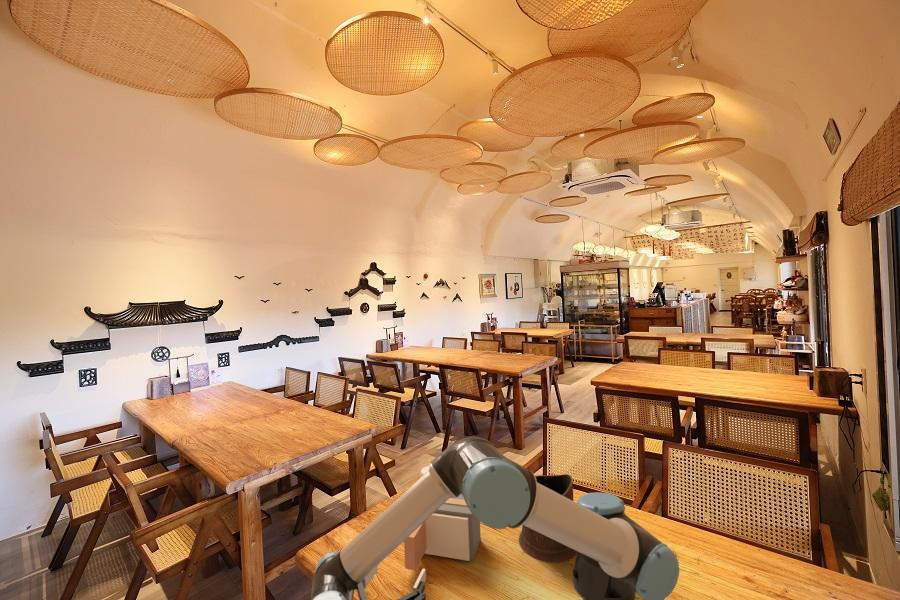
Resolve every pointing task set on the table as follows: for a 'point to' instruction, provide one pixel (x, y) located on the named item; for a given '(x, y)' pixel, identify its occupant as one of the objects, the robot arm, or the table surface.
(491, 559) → the table surface
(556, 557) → the brown pitcher
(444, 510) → the carton
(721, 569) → the table surface
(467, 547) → the door
